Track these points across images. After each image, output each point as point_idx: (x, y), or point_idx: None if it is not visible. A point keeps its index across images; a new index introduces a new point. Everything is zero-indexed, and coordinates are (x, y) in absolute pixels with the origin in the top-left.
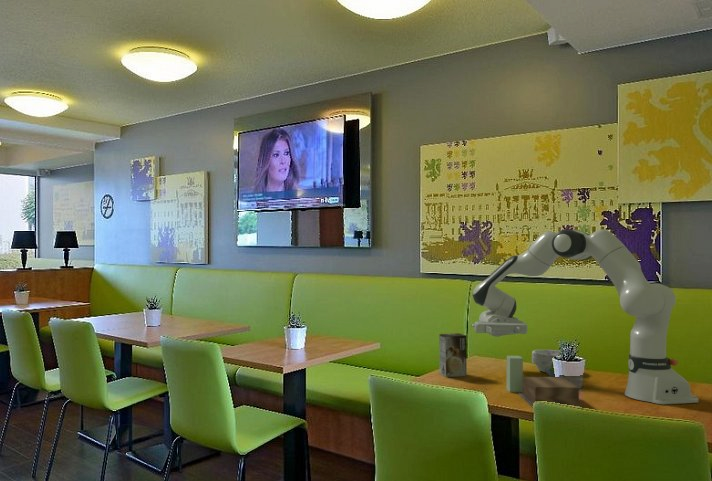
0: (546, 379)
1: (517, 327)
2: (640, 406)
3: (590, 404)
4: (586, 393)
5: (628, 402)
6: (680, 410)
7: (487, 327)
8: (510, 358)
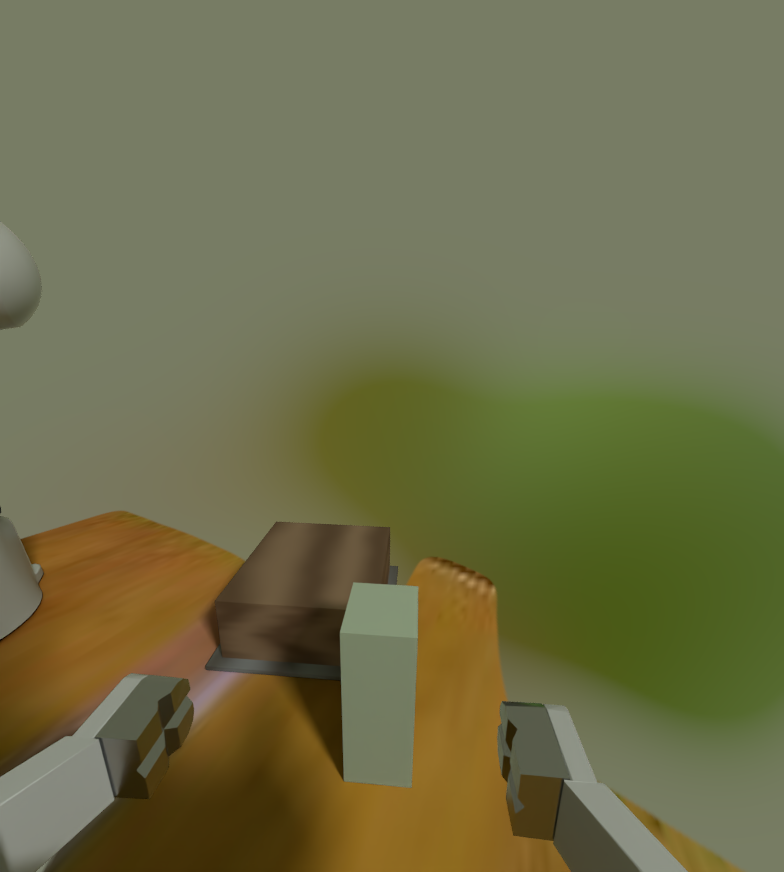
0: (306, 578)
1: (31, 781)
2: (113, 566)
3: (225, 583)
4: (93, 684)
5: (95, 591)
6: (63, 544)
7: (666, 864)
8: (416, 586)
